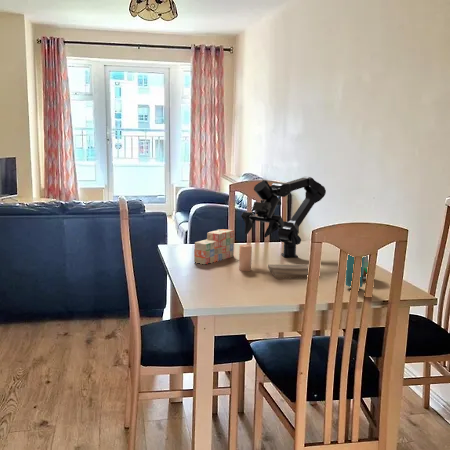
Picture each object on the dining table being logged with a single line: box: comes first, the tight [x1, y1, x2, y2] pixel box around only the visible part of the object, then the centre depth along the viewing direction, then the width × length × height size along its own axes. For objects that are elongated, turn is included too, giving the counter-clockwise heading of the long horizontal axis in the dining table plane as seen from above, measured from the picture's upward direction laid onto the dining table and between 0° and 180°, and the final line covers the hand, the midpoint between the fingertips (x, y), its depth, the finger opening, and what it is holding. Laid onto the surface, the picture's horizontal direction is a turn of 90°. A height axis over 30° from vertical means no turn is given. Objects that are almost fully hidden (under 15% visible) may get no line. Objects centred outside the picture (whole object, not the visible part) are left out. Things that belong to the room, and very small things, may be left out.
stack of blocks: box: [193, 228, 235, 265], centre depth 233 cm, size 21×6×12 cm, turn 145°
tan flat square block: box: [267, 263, 309, 280], centre depth 214 cm, size 16×16×2 cm
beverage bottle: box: [345, 255, 365, 288], centre depth 191 cm, size 6×7×20 cm
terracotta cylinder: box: [238, 244, 253, 272], centre depth 217 cm, size 5×5×10 cm
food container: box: [363, 256, 368, 282], centre depth 207 cm, size 12×6×10 cm, turn 168°
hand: (255, 235), depth 221 cm, fingers open, 9 cm apart
